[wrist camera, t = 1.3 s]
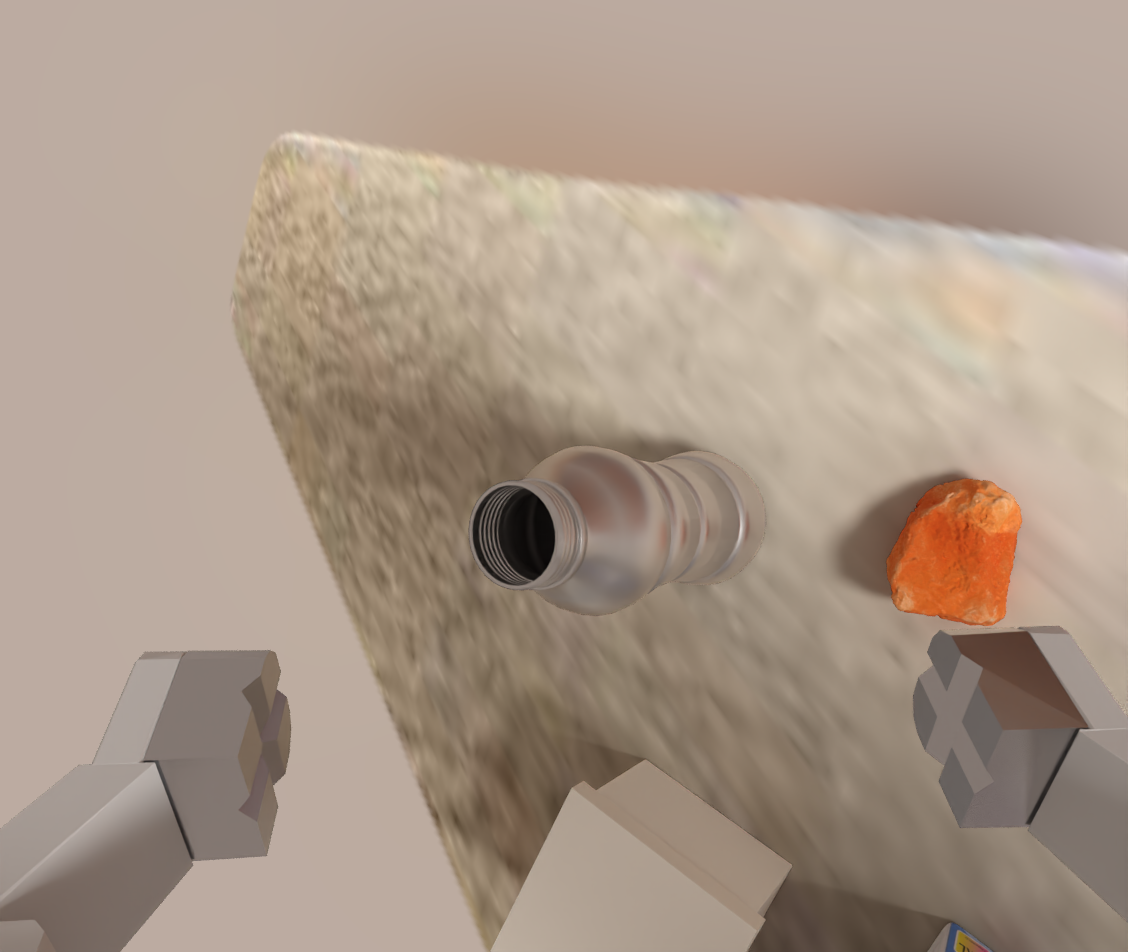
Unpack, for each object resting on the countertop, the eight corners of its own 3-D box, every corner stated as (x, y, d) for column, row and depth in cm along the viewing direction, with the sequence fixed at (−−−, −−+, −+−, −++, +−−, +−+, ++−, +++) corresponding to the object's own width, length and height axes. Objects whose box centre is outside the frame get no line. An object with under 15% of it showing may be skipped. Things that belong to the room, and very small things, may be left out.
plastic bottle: (737, 428, 48) (541, 397, 31) (802, 545, 47) (634, 581, 29) (637, 490, 51) (405, 493, 33) (695, 602, 49) (483, 667, 32)
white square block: (806, 863, 46) (757, 931, 39) (717, 1018, 49) (655, 1108, 42) (641, 745, 51) (571, 787, 44) (566, 892, 53) (488, 955, 46)
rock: (1139, 450, 40) (1146, 446, 37) (1073, 721, 41) (1073, 744, 38) (859, 403, 46) (840, 395, 42) (808, 642, 47) (785, 656, 43)
